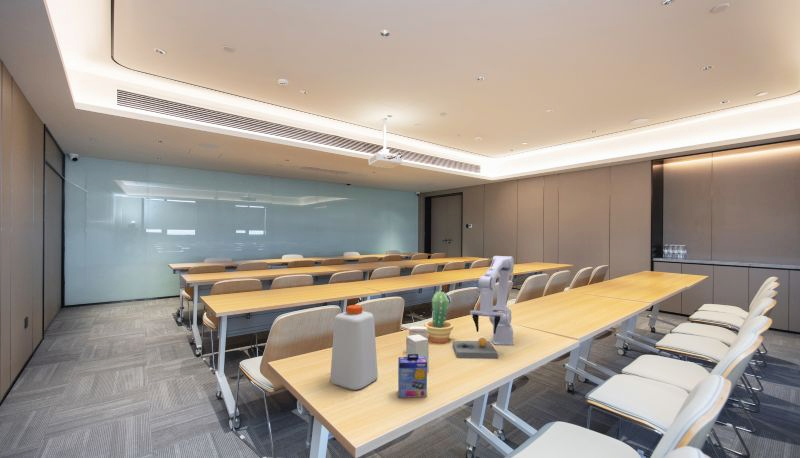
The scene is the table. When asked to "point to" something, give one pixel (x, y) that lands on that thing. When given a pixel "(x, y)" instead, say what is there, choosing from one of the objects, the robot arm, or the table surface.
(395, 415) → the table surface
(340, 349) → the plastic bottle
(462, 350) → the hole board
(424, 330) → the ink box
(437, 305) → the potted cactus
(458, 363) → the table surface
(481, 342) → the ball
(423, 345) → the small box
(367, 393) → the table surface
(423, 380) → the ink cartridge box
